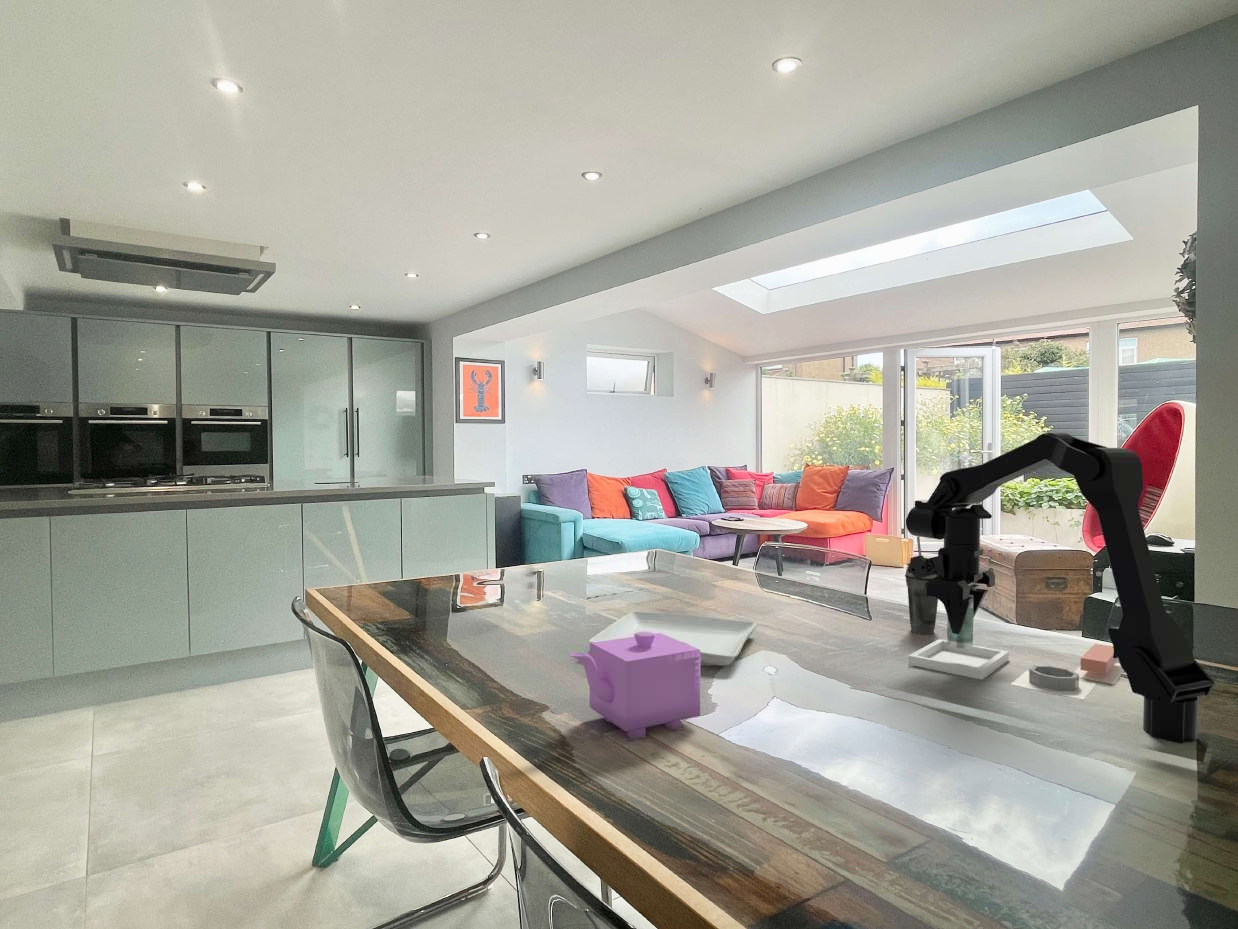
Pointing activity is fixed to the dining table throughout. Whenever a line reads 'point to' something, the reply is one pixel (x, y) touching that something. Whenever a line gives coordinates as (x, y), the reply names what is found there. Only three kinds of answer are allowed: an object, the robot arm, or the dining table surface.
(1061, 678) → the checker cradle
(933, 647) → the white rectangular tray
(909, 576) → the beverage cup
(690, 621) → the square plate
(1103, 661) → the bar
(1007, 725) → the dining table surface
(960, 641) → the silver cell
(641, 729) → the teapot
